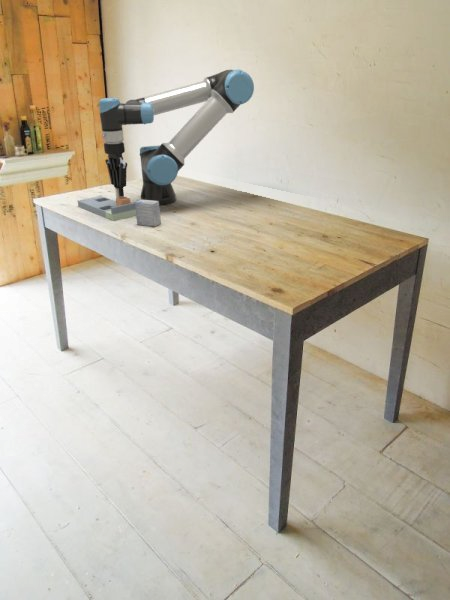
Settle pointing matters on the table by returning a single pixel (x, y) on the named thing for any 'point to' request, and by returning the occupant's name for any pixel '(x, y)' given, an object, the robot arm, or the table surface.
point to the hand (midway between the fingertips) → (120, 203)
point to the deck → (108, 208)
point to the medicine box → (147, 212)
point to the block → (122, 201)
